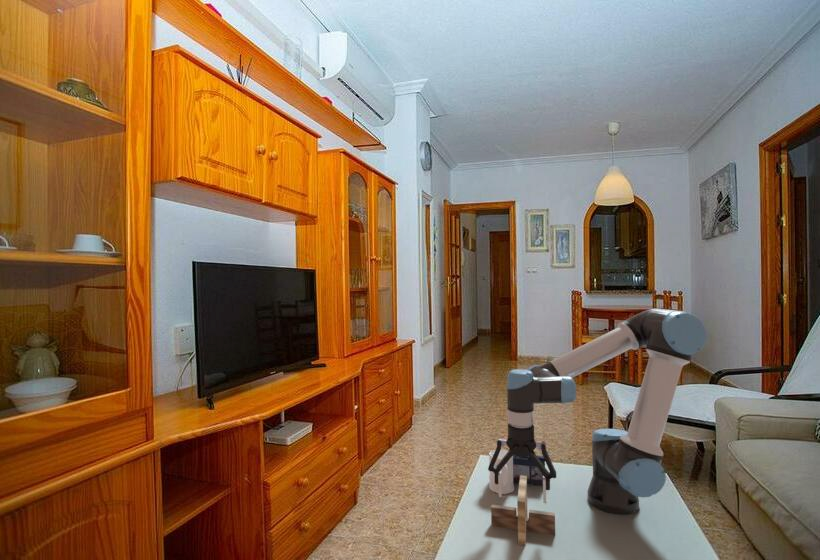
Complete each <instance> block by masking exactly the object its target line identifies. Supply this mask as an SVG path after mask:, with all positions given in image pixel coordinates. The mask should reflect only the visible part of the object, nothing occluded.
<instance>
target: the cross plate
mask: <svg viewBox="0 0 820 560" xmlns="http://www.w3.org/2000/svg"><path fill="white" fill-rule="evenodd" d="M516 501H517V503H516V504H517V505H516V506H517V507H516V512H517V516H518V529H517V544H518V545H522V546H526V543H527V531H526V518H528V516H529V512H528V485H527V476H521V475H520V481H519V484H518V492H517V500H516Z"/></svg>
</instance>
